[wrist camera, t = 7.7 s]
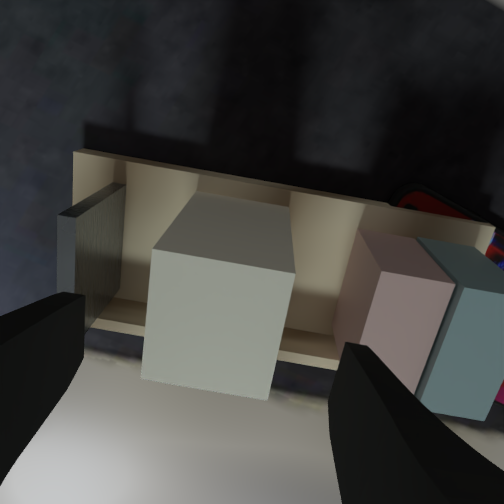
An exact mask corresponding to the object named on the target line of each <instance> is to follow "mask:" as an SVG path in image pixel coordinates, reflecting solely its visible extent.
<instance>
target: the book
mask: <svg viewBox="0 0 504 504" xmlns="http://www.w3.org/2000/svg"><path fill="white" fill-rule="evenodd" d="M295 275H296V272H295V262H294V252H293V242H292V232H291V222H290V212H289V207H285V206H280V205H274V204H268V203H263V202H257V201H251V200H246V199H240V198H234V197H229V196H223V195H217V194H212V193H206V192H200V191H196V192H195V193H194V195H193V196H192V197H191V198H190V200H189V201H188V202H187V204H186V205H185V206H184V208H183V209H182V210H181V212H180V213H179V214H178V216H177V217H176V218H175V219H174V221H173V222H172V223H171V225H170V226H169V227H168V229H167V230H166V231H165V233H164V234H163V235H162V237H161V238H160V239H159V240H158V242H157V243H156V244H155V246H154V247H153V248H152V256H151V268H150V279H149V291H148V302H147V313H146V325H145V336H144V348H143V359H142V370H141V379H145V380H150V381H156V382H161V383H167V384H173V385H179V386H185V387H191V388H196V389H203V390H208V391H214V392H220V393H226V394H231V395H237V396H244V397H249V398H255V399H261V400H266V401H267V400H268V396H269V391H270V387H271V382H272V378H273V373H274V369H275V364H276V360H277V355H278V351H279V346H280V342H281V337H282V333H283V328H284V324H285V319H286V315H287V310H288V306H289V301H290V297H291V292H292V288H293V284H294V279H295Z"/></svg>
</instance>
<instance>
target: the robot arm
mask: <svg viewBox="0 0 504 504" xmlns="http://www.w3.org/2000/svg"><path fill="white" fill-rule="evenodd" d="M85 301H86V295H81V294H75V293H70V292H60V293H57V294H54V295H51V296H49V297H46V298H44V299H41V300H39V301H36V302H34V303H31V304H29V305H27V306H24V307H22V308H19V309H17V310H14V311H12V312H9V313H7V314H5V315H2V316H0V486H1V484H2V482H3V480H4V478H5V477H6V475H7V474H8V472H9V471H10V469H11V467H12V466H13V465H14V463H15V462H16V460H17V458H18V457H19V456H20V454H21V453H22V452H23V450H24V449H25V447H26V446H27V445H28V443H29V442H30V441H31V439H32V438H33V436H34V435H35V434H36V432H37V431H38V430H39V428H40V427H41V425H42V424H43V423H44V421H45V420H46V418H47V417H48V416H49V414H50V413H51V411H52V410H53V409H54V407H55V406H56V404H57V403H58V402H59V400H60V399H61V397H62V396H63V394H64V393H65V392H66V390H67V389H68V387H69V385H70V383H71V381H72V379H73V378H74V376H75V374H76V372H77V370H78V368H79V366H80V364H81V362H82V360H83V358H84V332H85ZM328 414H329V432H330V440H331V445H332V451H333V457H334V462H335V468H336V473H337V479H338V484H339V490H340V495H341V500H342V504H504V471H503V470H502V469H500V468H499V467H497V466H496V465H495V464H493V463H492V462H490V461H489V460H488V459H486V458H485V457H484V456H482V455H481V454H480V453H478V452H477V451H476V450H475V449H473V448H472V447H471V446H470V445H469V444H467V443H466V442H465V441H464V440H462V439H461V438H460V437H459V436H458V435H456V434H455V433H454V432H453V431H452V430H450V429H449V428H448V427H447V426H446V425H445V424H444V423H442V422H441V421H440V420H439V419H438V418H437V417H436V416H435V415H434V414H433V413H432V412H431V411H430V410H429V409H428V408H427V407H425V406H424V405H423V404H422V403H421V402H420V401H419V400H418V399H417V398H416V397H415V396H414V395H413V394H412V393H411V391H410V390H409V389H408V388H407V387H406V386H405V385H404V384H403V383H402V382H401V381H400V380H399V379H398V378H397V377H396V376H395V374H394V373H393V372H392V371H391V370H390V369H389V368H388V367H387V366H386V365H385V363H384V362H383V361H382V360H381V359H380V358H379V357H378V356H377V355H376V354H375V353H374V352H373V351H372V349H370V348H369V347H368V346H367V345H362V344H356V343H350V342H345V345H344V348H343V351H342V355H341V358H340V362H339V365H338V369H337V372H336V375H335V379H334V382H333V386H332V389H331V393H330V396H329V399H328Z"/></svg>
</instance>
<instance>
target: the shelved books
mask: <svg viewBox="0 0 504 504" xmlns="http://www.w3.org/2000/svg"><path fill="white" fill-rule="evenodd" d="M331 325H332V329H333V333H334V338H335V342H336V346H337V351H338V355H339V360H340V358H341V355H342V351H343V348H344V345H345V342H350V343H356V344H362V345H367V346H368V347H369V348H370V349H372V351H373V352H374V353H375V354H376V355H377V356H378V357H379V358H380V359H381V360H382V361H383V362H384V363H385V365H386V366H387V367H388V368H389V369H390V370H391V371H392V372H393V373H394V374H395V376H396V377H397V378H398V379H399V380H400V381H401V382H402V383H403V384H404V385H405V386H406V387H407V388H408V389H409V390H410V391H411V393H412V394H413V395H414V396H415V397H416V398H417V399H418V400H419V401H420V402H421V403H422V404H423V405H424V406H425V407H427V408H428V409H429V410H430V411H431V412H435V413H441V414H447V415H452V416H458V417H464V418H470V419H475V420H481V421H485V419H486V416H487V414H488V412H489V410H490V408H491V406H492V403H493V401H494V399H495V397H496V395H497V393H498V391H499V388H500V386H501V384H502V382H503V380H504V271H503V270H502V269H501V268H500V267H498V266H497V265H496V264H495V263H493V262H492V261H491V260H490V259H489V258H487V257H486V256H485V255H484V254H482V253H481V252H480V251H479V250H478V249H476V248H475V247H472V246H466V245H461V244H455V243H449V242H444V241H438V240H433V239H427V238H422V237H417V240H415V239H414V238H409V237H403V236H398V235H392V234H386V233H381V232H375V231H370V230H364V229H358V228H357V232H356V236H355V239H354V243H353V247H352V250H351V254H350V258H349V261H348V265H347V269H346V272H345V276H344V280H343V283H342V287H341V291H340V294H339V298H338V302H337V305H336V309H335V313H334V316H333V320H332V324H331Z"/></svg>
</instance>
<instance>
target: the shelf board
mask: <svg viewBox="0 0 504 504" xmlns="http://www.w3.org/2000/svg"><path fill="white" fill-rule="evenodd" d="M112 182H114V183H120V184H125V185H127V186H126V201H125V217H124V232H123V248H122V264H121V279H120V289H119V290H118V292H117V293H116V294H115V296H114V297H113V298H112V300H111V301H110V302H109V303H108V305H107V306H106V307H105V309H104V310H103V311H102V313H101V314H100V315H99V316H98V318H97V319H96V320H95V322H94V323H93V324H92V325H91V327H93V328H98V329H104V330H110V331H116V332H121V333H127V334H133V335H138V336H145V325H146V313H147V302H148V291H149V279H150V268H151V256H152V248H153V247H154V246H155V244H156V243H157V242H158V240H159V239H160V238H161V237H162V235H163V234H164V233H165V231H166V230H167V229H168V227H169V226H170V225H171V223H172V222H173V221H174V219H175V218H176V217H177V216H178V214H179V213H180V212H181V210H182V209H183V208H184V206H185V205H186V204H187V202H188V201H189V200H190V198H191V197H192V196H193V195H194V193H195V192H196V191H200V192H206V193H212V194H217V195H223V196H229V197H234V198H240V199H246V200H251V201H257V202H263V203H268V204H274V205H280V206H285V207H289V212H290V222H291V232H292V242H293V252H294V262H295V272H296V275H295V279H294V284H293V288H292V292H291V297H290V301H289V306H288V310H287V315H286V319H285V324H284V328H283V333H282V337H281V342H280V346H279V351H278V355H277V360H281V361H287V362H293V363H298V364H304V365H310V366H315V367H321V368H327V369H333V370H337V369H338V365H339V362H340V360H339V355H338V351H337V346H336V342H335V338H334V333H333V329H332V325H331V324H332V320H333V316H334V313H335V309H336V305H337V302H338V298H339V294H340V291H341V287H342V283H343V280H344V276H345V272H346V269H347V265H348V261H349V258H350V254H351V250H352V247H353V243H354V239H355V236H356V232H357V228H358V229H364V230H370V231H375V232H381V233H386V234H392V235H398V236H403V237H409V238H414V239H415V240H417V237H422V238H427V239H433V240H438V241H444V242H449V243H455V244H461V245H466V246H472V247H475V248H476V249H478V250H479V251H480V252H481V253H482V254H484V255H485V253H486V250H487V248H488V245H489V243H490V240H491V238H492V235H493V233H494V230H495V228H496V227H494V226H493V225H491V224H490V223H483V222H477V221H472V220H466V219H460V218H455V217H449V216H444V215H438V214H432V213H427V212H421V211H415V210H409V209H404V208H398V207H393V206H390V205H389V204H388V203H385V202H379V201H374V200H368V199H362V198H357V197H351V196H346V195H340V194H335V193H329V192H324V191H318V190H312V189H307V188H301V187H296V186H290V185H285V184H279V183H273V182H268V181H262V180H257V179H251V178H246V177H240V176H234V175H229V174H223V173H218V172H212V171H207V170H201V169H196V168H190V167H184V166H179V165H173V164H168V163H162V162H157V161H151V160H145V159H140V158H134V157H129V156H123V155H118V154H112V153H107V152H101V151H95V150H90V149H84V148H83V149H80V150H77V151H74V158H73V205H75V204H77V203H78V202H80V201H82V200H83V199H85V198H87V197H88V196H90V195H92V194H94V193H95V192H97V191H99V190H100V189H102V188H104V187H105V186H107V185H109V184H110V183H112Z"/></svg>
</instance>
